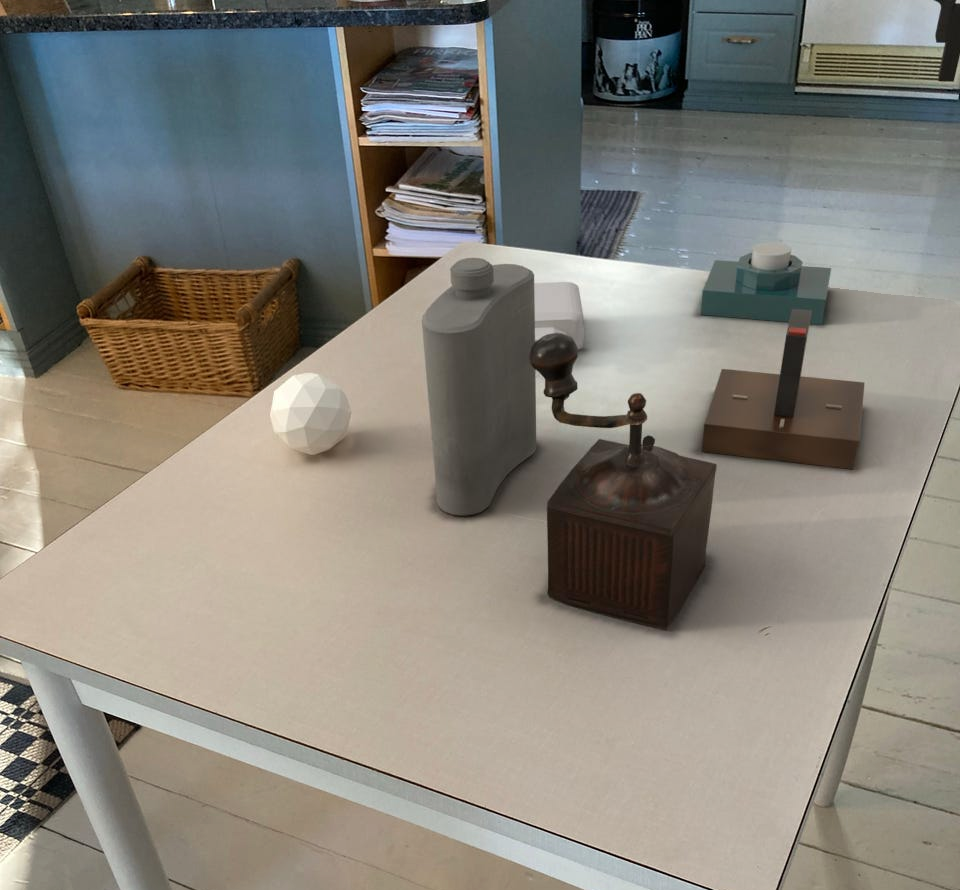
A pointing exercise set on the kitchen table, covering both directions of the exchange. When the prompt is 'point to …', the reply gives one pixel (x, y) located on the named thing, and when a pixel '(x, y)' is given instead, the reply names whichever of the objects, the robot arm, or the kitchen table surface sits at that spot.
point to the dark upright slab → (792, 362)
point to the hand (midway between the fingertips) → (945, 78)
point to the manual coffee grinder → (622, 511)
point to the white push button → (771, 256)
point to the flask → (480, 381)
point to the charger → (558, 310)
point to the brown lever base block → (785, 420)
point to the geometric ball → (310, 413)
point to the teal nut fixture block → (764, 290)
